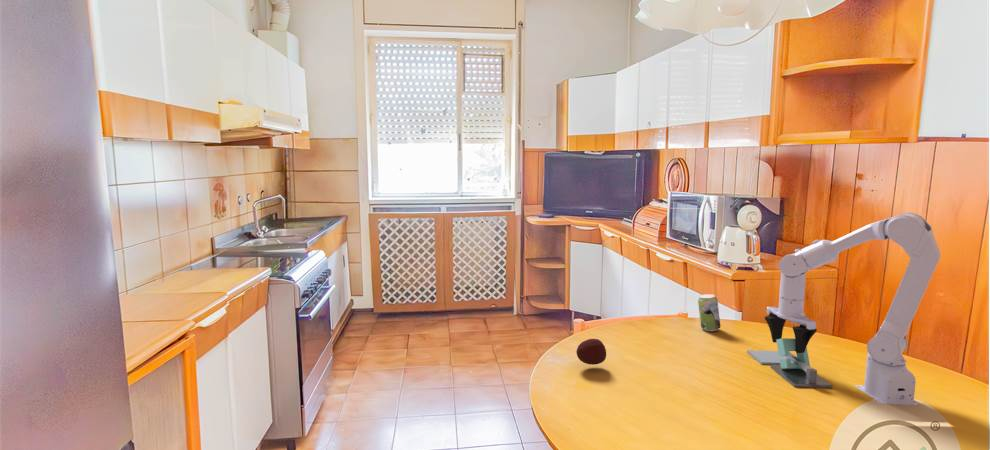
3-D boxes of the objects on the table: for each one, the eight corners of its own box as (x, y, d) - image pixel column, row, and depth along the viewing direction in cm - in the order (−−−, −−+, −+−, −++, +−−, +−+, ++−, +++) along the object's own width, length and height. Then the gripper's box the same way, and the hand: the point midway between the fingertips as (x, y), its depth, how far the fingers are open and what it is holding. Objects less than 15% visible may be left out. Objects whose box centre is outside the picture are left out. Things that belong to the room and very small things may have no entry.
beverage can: (723, 333, 160) (725, 297, 158) (701, 332, 160) (702, 297, 159) (715, 326, 166) (717, 292, 165) (693, 326, 166) (695, 292, 165)
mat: (806, 365, 133) (806, 363, 133) (761, 364, 134) (761, 362, 134) (789, 353, 142) (789, 351, 142) (746, 352, 143) (746, 350, 143)
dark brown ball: (571, 360, 137) (572, 336, 136) (598, 357, 139) (599, 333, 138) (582, 370, 130) (583, 345, 129) (611, 367, 132) (611, 342, 131)
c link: (810, 368, 126) (804, 338, 129) (787, 368, 126) (782, 338, 129) (803, 369, 129) (798, 340, 131) (781, 368, 129) (776, 339, 131)
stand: (832, 388, 119) (833, 371, 119) (794, 386, 120) (795, 370, 120) (804, 368, 131) (805, 353, 131) (770, 367, 132) (771, 352, 131)
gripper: (827, 304, 123) (823, 355, 125) (783, 290, 138) (779, 337, 139) (804, 305, 122) (800, 357, 123) (761, 292, 136) (758, 338, 138)
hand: (787, 347), depth 131 cm, fingers open, 7 cm apart
